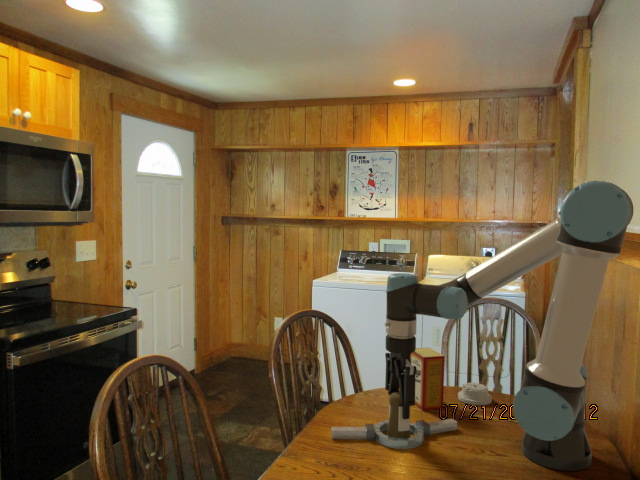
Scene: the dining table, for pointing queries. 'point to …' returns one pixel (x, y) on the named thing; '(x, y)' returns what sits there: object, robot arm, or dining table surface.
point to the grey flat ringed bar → (375, 434)
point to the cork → (395, 418)
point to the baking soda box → (428, 378)
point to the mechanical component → (474, 394)
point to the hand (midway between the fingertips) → (398, 425)
